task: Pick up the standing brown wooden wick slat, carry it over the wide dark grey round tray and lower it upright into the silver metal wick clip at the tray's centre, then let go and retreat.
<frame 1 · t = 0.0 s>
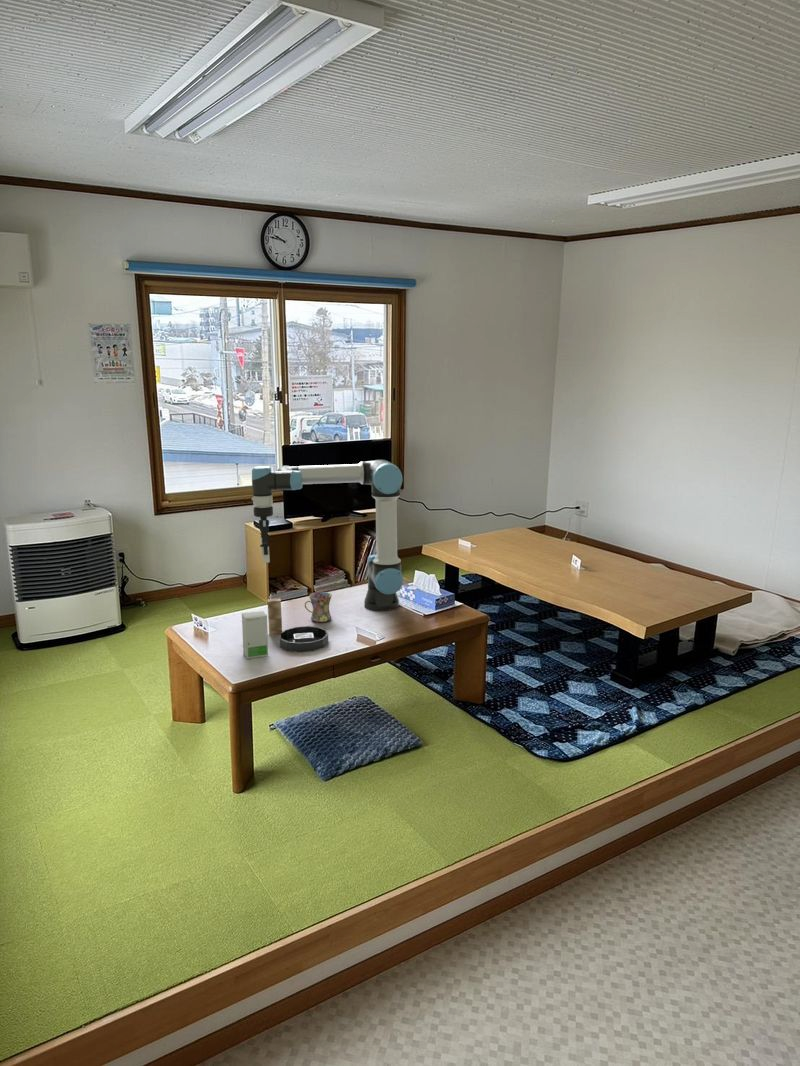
hand: (265, 558, 299), 28 cm above the table, fingers open, 13 cm apart
wick clip: (303, 638, 284), in the dark grey round tray
skincare box: (256, 655, 274), on the table
dark grey round tray: (303, 643, 285), on the table
mug: (318, 621, 310), on the table
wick: (275, 634, 295), on the table
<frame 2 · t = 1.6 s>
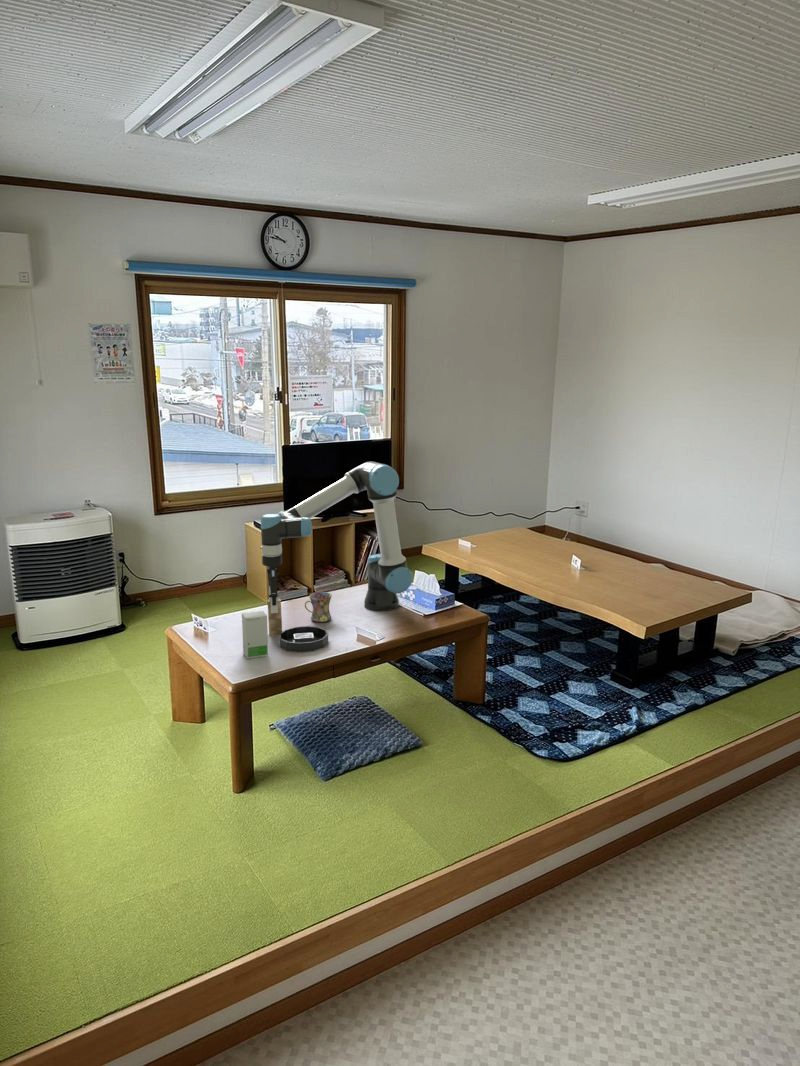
hand: (273, 607, 292), 11 cm above the table, fingers open, 13 cm apart
nothing on the table moved.
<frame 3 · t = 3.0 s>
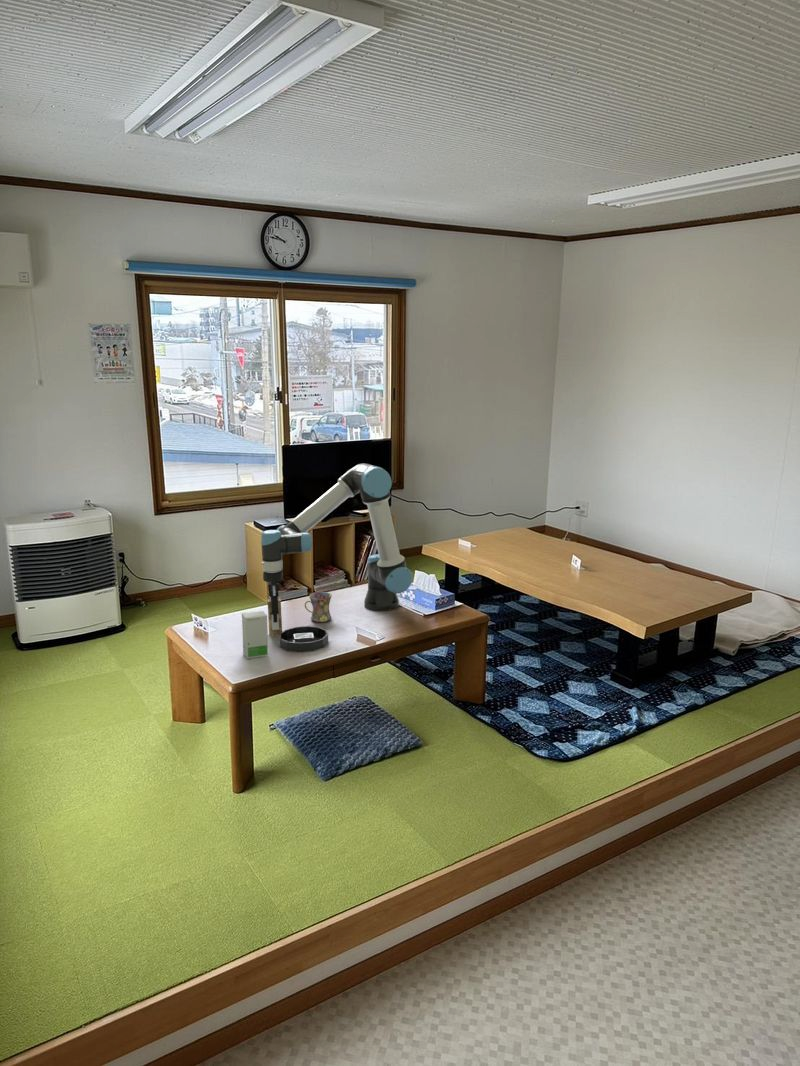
hand: (275, 627, 294), 3 cm above the table, fingers closed on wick, 3 cm apart
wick: (275, 634, 295), on the table, touching gripper
everything else where it was.
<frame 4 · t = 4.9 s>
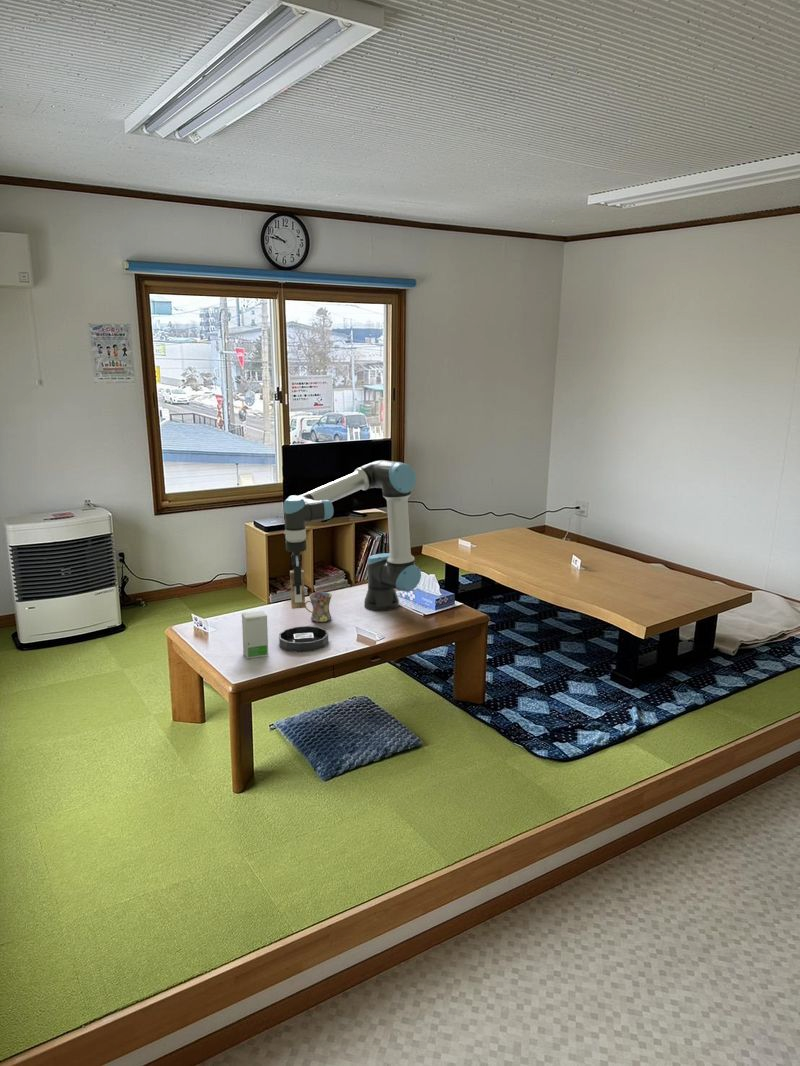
hand: (298, 600, 282), 17 cm above the table, fingers closed on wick, 3 cm apart
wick: (298, 607, 283), point 14 cm above the table, touching gripper
everything else where it was.
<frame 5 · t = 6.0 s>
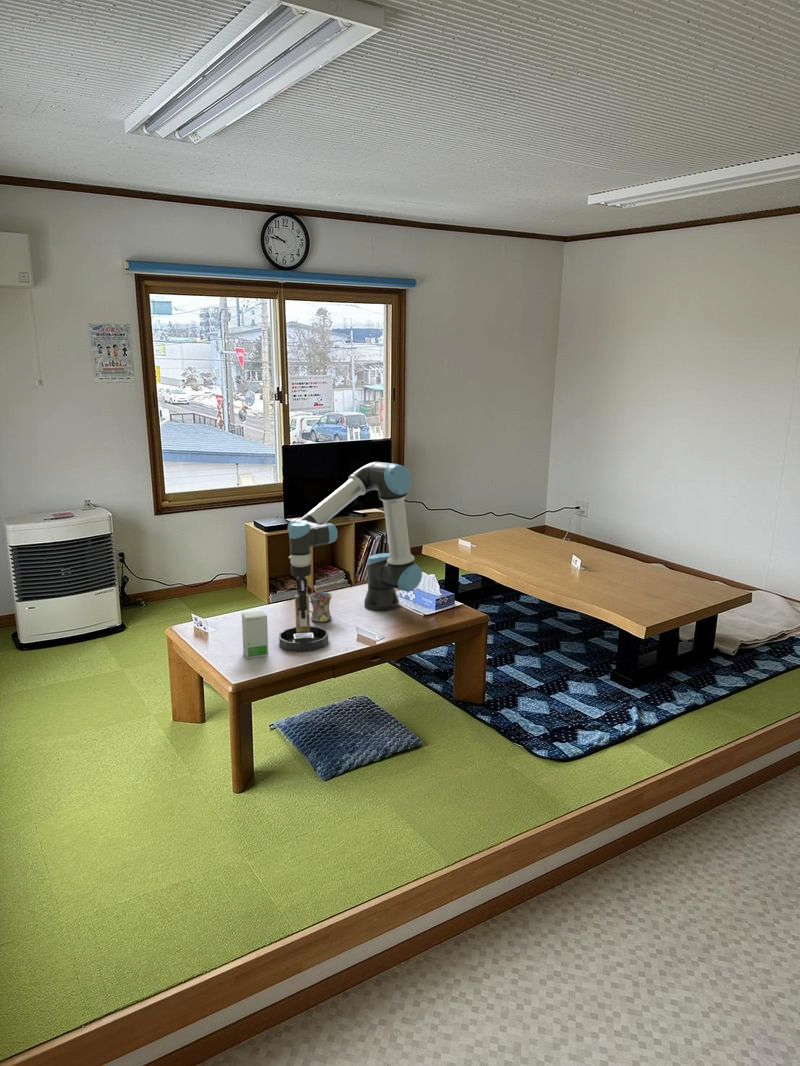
hand: (303, 624, 283), 8 cm above the table, fingers closed on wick, 3 cm apart
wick: (303, 630, 284), point 5 cm above the table, touching gripper
everything else where it was.
when the fingers open (4 cm above the table, at t = 6.8 s): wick drops 1 cm, resting on wick clip.
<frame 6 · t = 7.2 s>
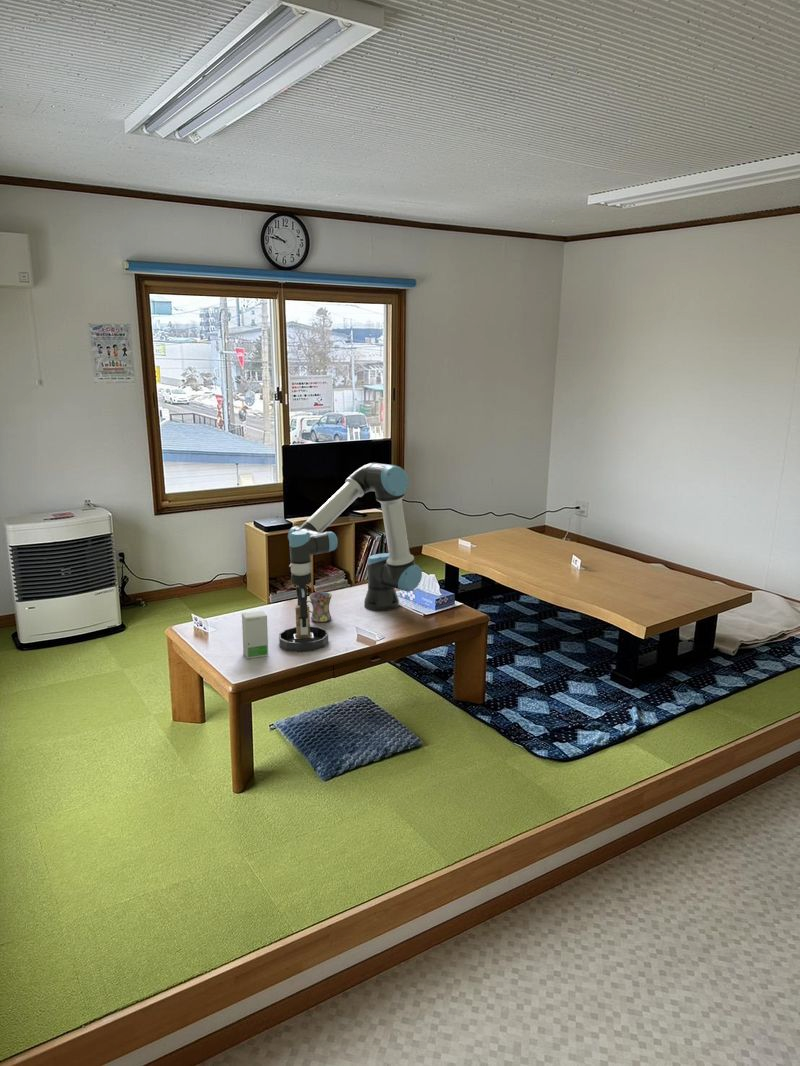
hand: (303, 629, 284), 5 cm above the table, fingers open, 9 cm apart
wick: (303, 641, 285), point 1 cm above the table, touching wick clip
everything else where it was.
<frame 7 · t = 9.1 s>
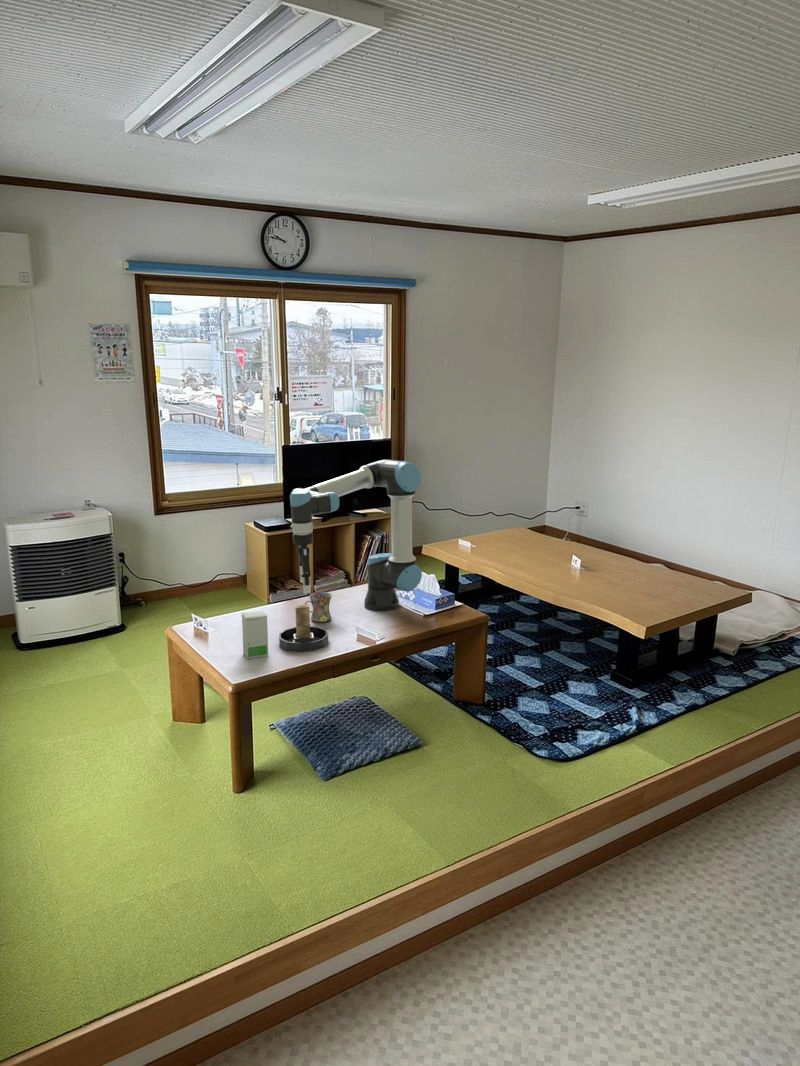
hand: (305, 587, 282), 21 cm above the table, fingers open, 13 cm apart
nothing on the table moved.
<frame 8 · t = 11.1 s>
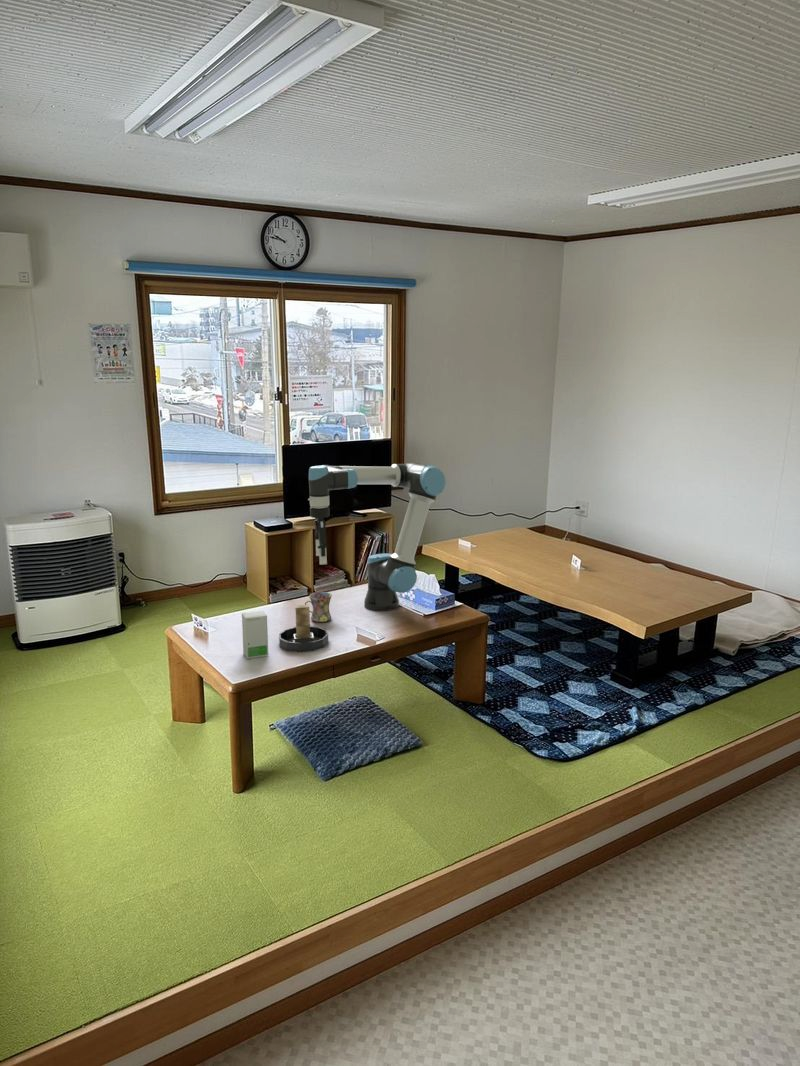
hand: (321, 559, 293), 29 cm above the table, fingers open, 13 cm apart
nothing on the table moved.
at the end: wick 0.0 cm off-centre on the wick clip, point 0.7 cm above the wick clip's base; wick tilted 0°; the gripper is holding nothing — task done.
